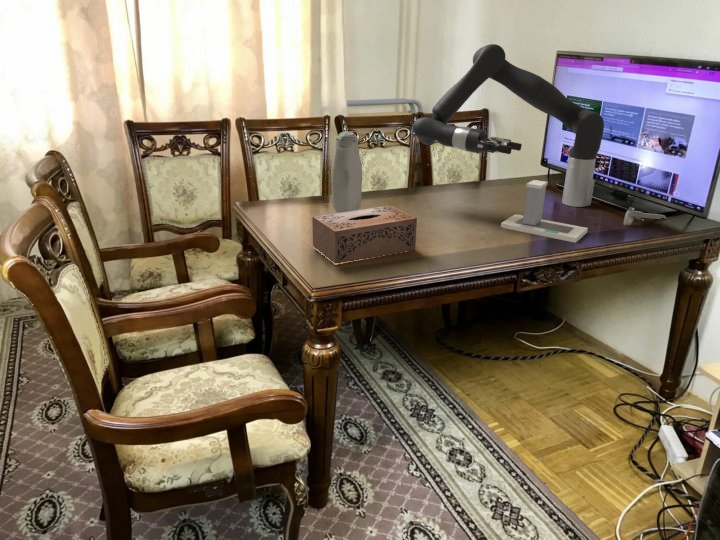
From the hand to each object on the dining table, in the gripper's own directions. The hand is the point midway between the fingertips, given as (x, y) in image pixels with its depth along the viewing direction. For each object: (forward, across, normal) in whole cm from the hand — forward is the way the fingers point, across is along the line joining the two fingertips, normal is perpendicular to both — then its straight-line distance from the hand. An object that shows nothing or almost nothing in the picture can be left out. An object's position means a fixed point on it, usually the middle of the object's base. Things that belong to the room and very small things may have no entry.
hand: (516, 149), depth 184 cm
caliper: (+39, +30, +21) cm, 53 cm away
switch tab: (+10, 0, +22) cm, 24 cm away
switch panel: (+14, 0, +24) cm, 27 cm away
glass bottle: (-46, -24, +28) cm, 59 cm away
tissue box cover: (-22, -49, +28) cm, 60 cm away
